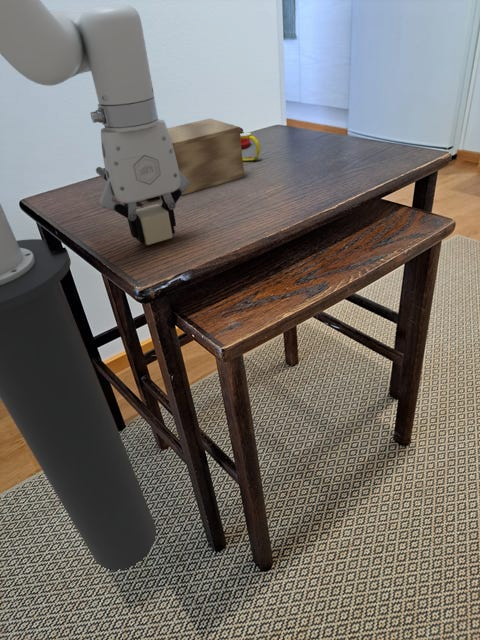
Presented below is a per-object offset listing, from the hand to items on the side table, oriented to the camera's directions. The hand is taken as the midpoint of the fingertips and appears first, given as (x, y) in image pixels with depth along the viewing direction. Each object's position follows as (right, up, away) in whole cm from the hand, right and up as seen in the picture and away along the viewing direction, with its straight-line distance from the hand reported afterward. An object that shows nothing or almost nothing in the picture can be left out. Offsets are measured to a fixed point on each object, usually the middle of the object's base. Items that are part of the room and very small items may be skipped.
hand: (154, 234), depth 72 cm
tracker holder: (+13, +32, +45) cm, 57 cm away
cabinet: (+5, +17, +25) cm, 31 cm away
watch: (+16, +23, +32) cm, 43 cm away
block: (0, 0, 0) cm, 0 cm away
